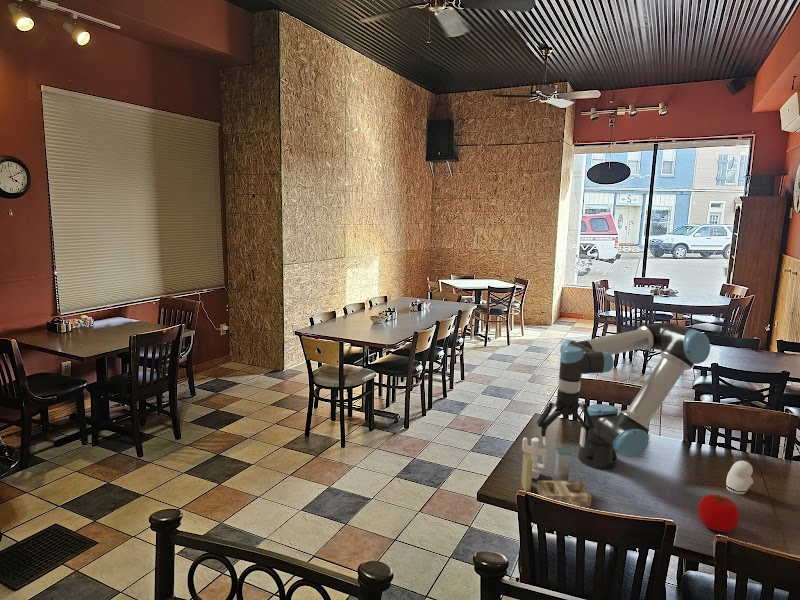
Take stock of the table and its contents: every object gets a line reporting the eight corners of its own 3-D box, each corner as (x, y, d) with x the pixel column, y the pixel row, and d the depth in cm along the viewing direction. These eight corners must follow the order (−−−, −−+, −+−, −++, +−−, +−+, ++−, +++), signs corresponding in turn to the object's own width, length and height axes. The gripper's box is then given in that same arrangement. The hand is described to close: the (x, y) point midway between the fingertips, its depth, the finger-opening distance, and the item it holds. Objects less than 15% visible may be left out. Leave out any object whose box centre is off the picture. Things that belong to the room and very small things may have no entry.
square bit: (564, 481, 198) (567, 447, 196) (567, 487, 194) (571, 452, 191) (553, 481, 198) (556, 446, 195) (556, 487, 194) (559, 452, 191)
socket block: (580, 491, 192) (581, 481, 191) (590, 507, 182) (591, 496, 181) (536, 490, 192) (537, 480, 191) (544, 506, 182) (545, 495, 181)
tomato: (699, 533, 169) (703, 503, 167) (693, 512, 180) (697, 484, 178) (740, 542, 165) (745, 511, 163) (731, 520, 176) (736, 491, 174)
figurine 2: (741, 497, 190) (746, 467, 188) (721, 487, 197) (725, 457, 194) (753, 493, 193) (758, 463, 191) (732, 483, 200) (737, 454, 198)
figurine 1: (543, 482, 197) (546, 445, 194) (518, 476, 201) (520, 439, 198) (547, 474, 203) (550, 438, 200) (523, 468, 207) (525, 432, 205)
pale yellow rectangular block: (526, 483, 196) (528, 453, 194) (530, 491, 191) (532, 461, 188) (521, 483, 196) (523, 453, 194) (525, 491, 191) (527, 461, 188)
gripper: (599, 387, 193) (593, 441, 197) (531, 385, 193) (526, 439, 197) (607, 394, 185) (601, 450, 189) (536, 392, 185) (531, 448, 189)
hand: (563, 445), depth 193 cm, fingers open, 13 cm apart
